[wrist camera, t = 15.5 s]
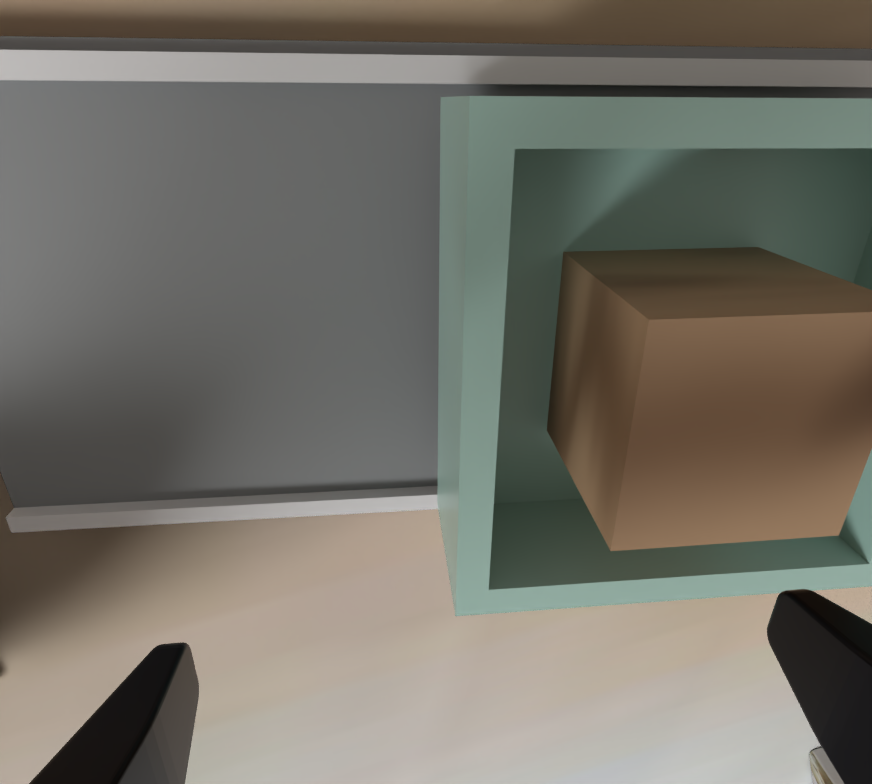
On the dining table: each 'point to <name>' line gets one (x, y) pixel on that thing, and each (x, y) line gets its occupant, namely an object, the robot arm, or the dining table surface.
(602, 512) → the block
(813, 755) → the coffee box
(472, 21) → the dining table surface
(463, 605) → the sage green storage bin
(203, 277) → the rail board
